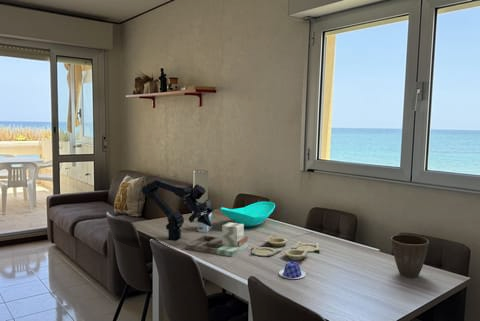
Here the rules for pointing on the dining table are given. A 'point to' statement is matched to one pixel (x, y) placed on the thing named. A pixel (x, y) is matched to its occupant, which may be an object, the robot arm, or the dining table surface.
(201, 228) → the light bulb box
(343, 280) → the dining table surface
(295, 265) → the purple patterned hat
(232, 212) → the table top decor
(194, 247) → the board
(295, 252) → the tableware set
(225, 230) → the ash block
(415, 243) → the plant pot
